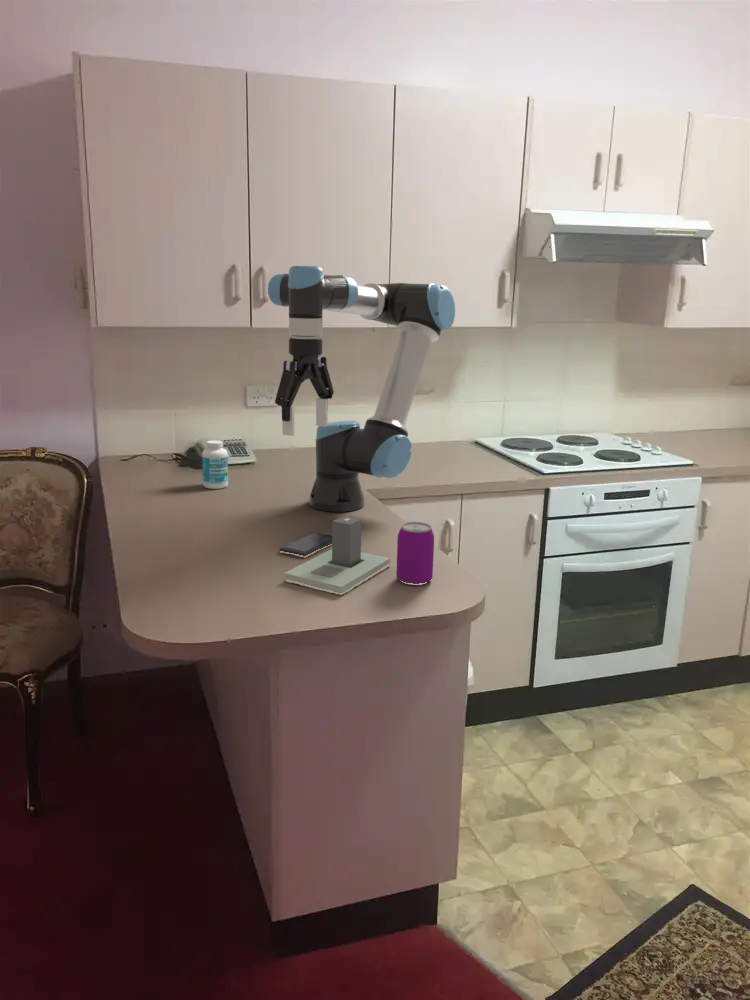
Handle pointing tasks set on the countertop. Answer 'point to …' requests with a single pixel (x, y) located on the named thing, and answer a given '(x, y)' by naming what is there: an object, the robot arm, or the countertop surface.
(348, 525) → the brick
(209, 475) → the pill bottle
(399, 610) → the countertop surface
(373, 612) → the countertop surface
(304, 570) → the outlet plate
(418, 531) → the beverage can
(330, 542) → the phone
